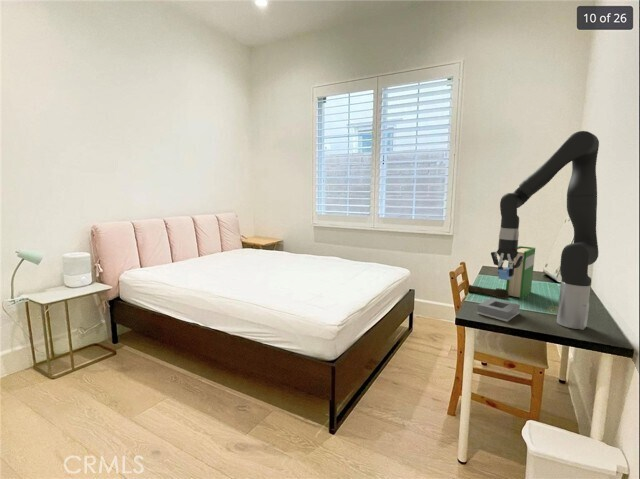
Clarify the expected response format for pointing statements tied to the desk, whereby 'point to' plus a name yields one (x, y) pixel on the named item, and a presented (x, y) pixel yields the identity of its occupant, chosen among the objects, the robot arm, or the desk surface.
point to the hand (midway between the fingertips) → (505, 275)
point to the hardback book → (522, 274)
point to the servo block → (504, 273)
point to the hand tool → (489, 291)
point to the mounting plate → (498, 309)
